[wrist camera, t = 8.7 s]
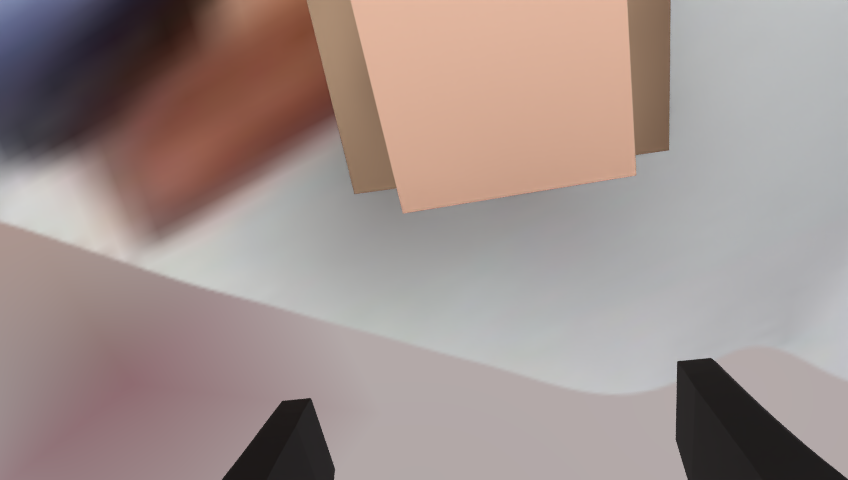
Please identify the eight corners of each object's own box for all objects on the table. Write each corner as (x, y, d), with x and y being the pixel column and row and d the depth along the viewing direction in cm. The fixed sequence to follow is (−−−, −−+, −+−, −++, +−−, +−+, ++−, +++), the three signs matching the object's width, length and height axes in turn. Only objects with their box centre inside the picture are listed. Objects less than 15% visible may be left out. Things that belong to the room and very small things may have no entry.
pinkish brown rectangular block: (554, -102, 17) (623, -88, 10) (570, 65, 19) (636, 175, 12) (389, -65, 17) (343, -27, 10) (422, 93, 19) (402, 213, 12)
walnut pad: (663, -239, 16) (672, -245, 15) (661, 141, 21) (668, 150, 20) (275, -157, 17) (267, -159, 16) (357, 184, 22) (354, 194, 21)
